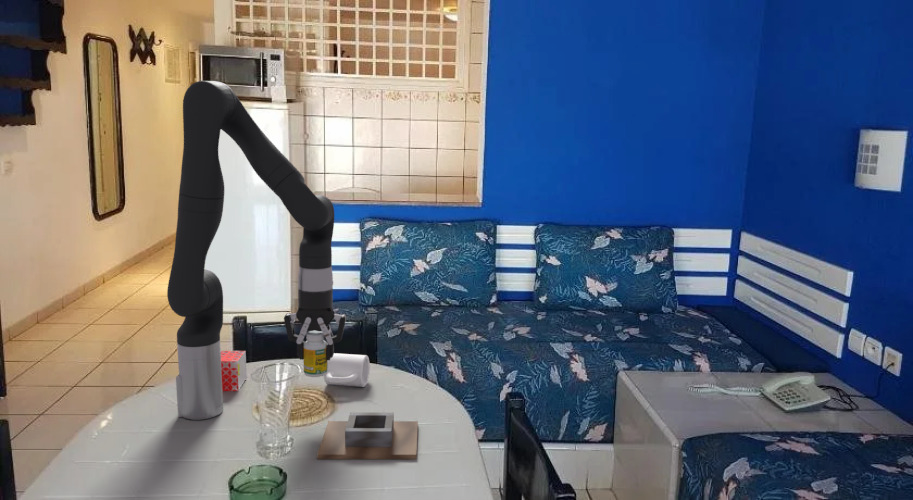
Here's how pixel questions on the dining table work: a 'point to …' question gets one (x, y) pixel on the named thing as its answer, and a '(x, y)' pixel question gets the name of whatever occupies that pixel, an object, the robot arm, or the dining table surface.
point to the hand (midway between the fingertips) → (315, 358)
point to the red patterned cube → (233, 369)
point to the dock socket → (369, 438)
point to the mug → (347, 370)
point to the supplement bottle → (315, 354)
